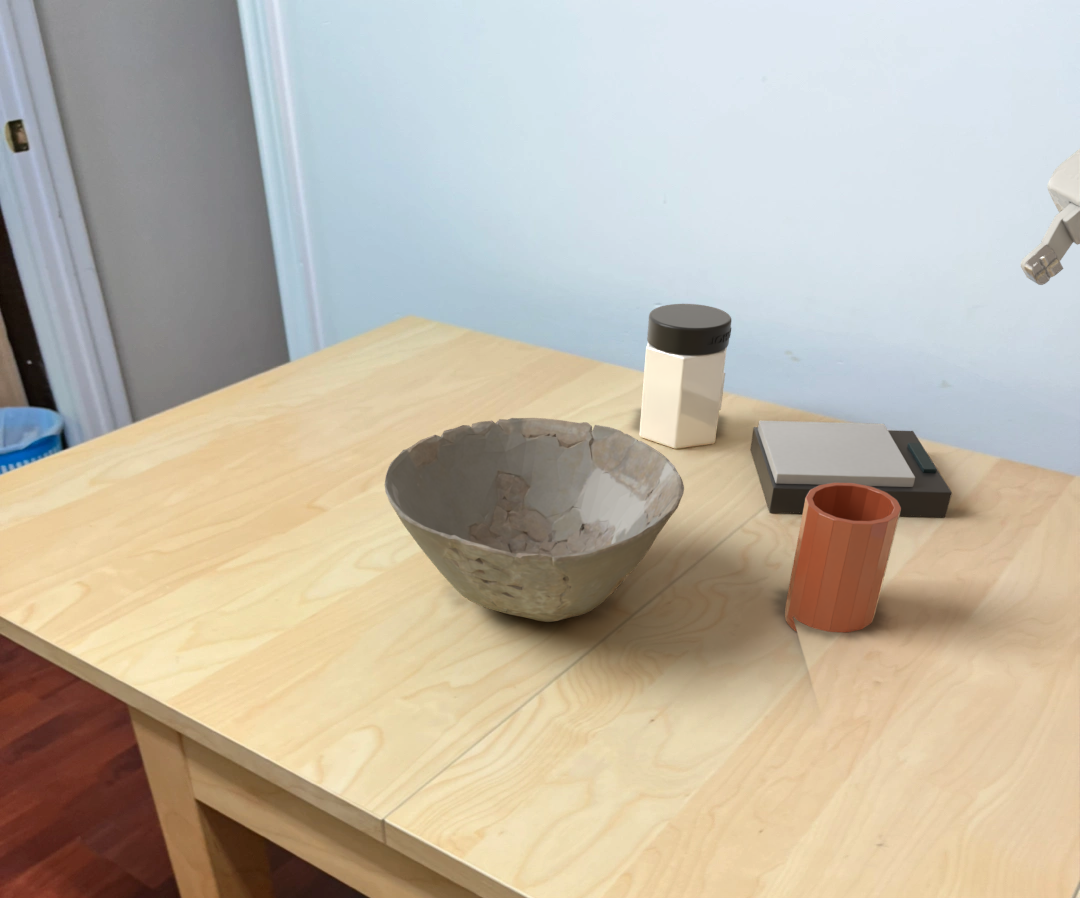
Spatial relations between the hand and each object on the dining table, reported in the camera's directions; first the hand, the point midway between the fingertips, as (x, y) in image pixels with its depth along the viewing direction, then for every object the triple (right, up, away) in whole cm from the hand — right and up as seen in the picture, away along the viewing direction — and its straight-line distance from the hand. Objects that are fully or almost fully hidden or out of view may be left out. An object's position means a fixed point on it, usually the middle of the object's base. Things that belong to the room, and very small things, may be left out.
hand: (1067, 299), depth 67 cm
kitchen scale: (-5, -4, +34) cm, 34 cm away
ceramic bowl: (-34, -17, +17) cm, 42 cm away
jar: (-19, +3, +43) cm, 47 cm away
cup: (-11, -19, +14) cm, 27 cm away
